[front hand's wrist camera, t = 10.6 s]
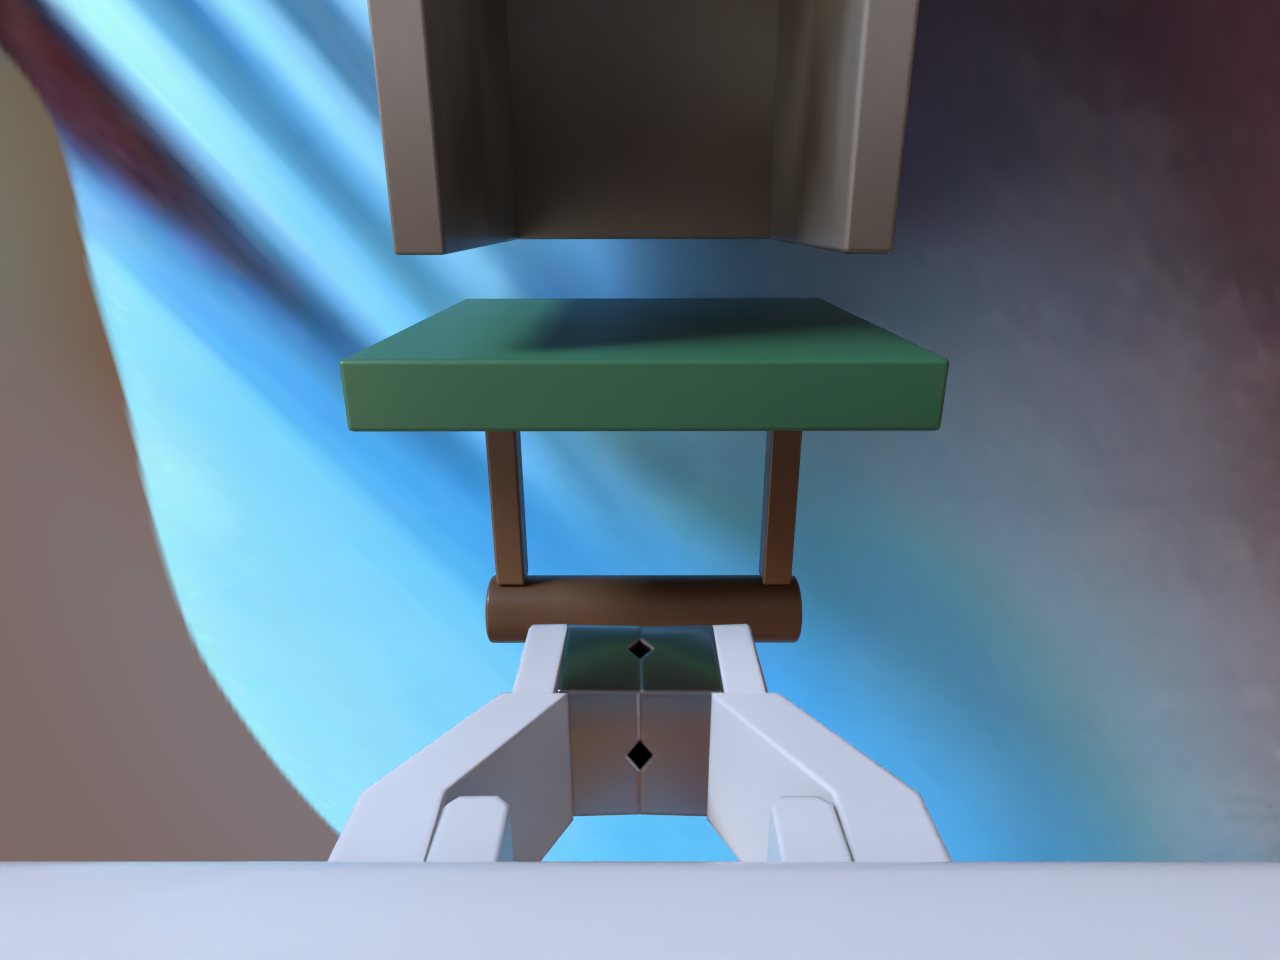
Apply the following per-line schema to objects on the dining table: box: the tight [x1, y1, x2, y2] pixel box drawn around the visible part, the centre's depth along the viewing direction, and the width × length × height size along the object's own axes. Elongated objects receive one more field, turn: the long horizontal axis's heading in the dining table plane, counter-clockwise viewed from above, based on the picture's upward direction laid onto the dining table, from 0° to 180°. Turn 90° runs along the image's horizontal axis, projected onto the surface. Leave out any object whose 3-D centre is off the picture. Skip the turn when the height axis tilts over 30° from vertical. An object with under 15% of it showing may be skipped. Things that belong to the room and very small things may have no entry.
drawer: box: [340, 0, 949, 643], centre depth 14 cm, size 24×10×9 cm, turn 0°
